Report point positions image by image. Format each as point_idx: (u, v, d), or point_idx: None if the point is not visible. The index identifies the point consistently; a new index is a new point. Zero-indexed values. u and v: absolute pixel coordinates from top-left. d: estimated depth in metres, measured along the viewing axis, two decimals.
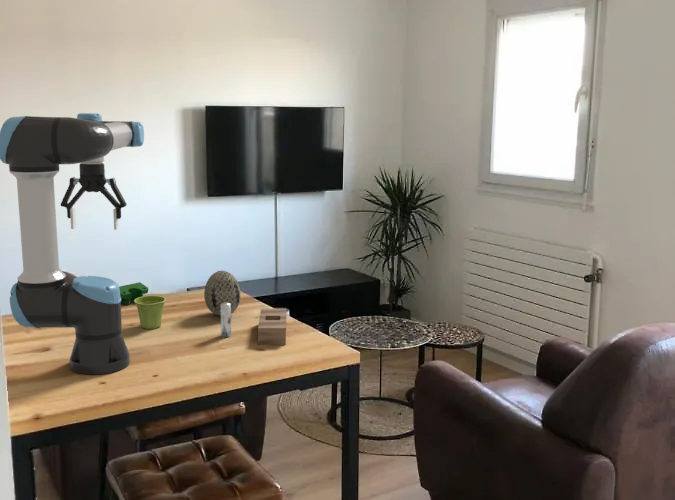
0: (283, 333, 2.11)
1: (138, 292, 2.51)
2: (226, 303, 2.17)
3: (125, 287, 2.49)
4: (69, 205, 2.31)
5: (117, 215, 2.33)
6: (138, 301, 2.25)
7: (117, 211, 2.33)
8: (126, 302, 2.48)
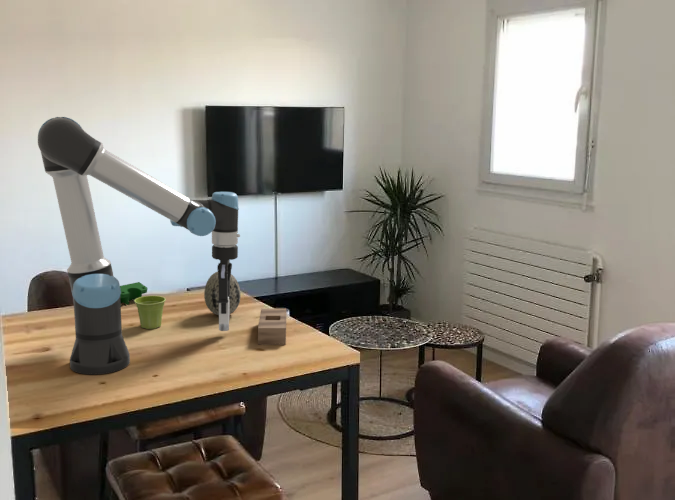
0: (283, 333, 2.11)
1: (137, 292, 2.52)
2: None
3: (124, 287, 2.50)
4: None
5: None
6: (138, 301, 2.25)
7: None
8: (125, 302, 2.48)
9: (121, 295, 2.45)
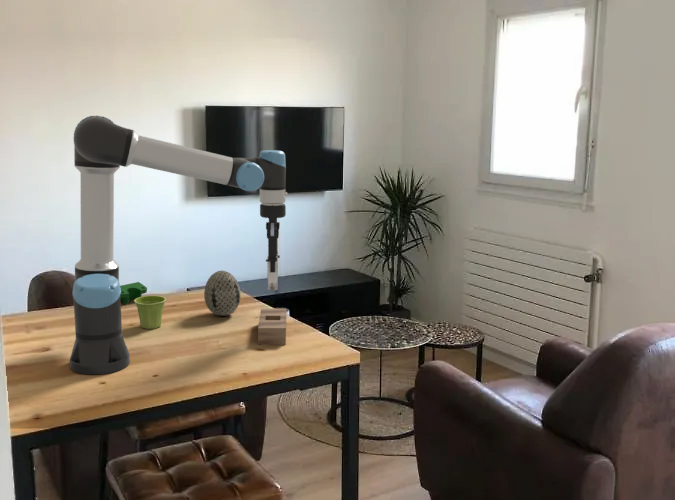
0: (283, 333, 2.11)
1: (137, 292, 2.52)
2: None
3: (123, 287, 2.50)
4: None
5: None
6: (138, 301, 2.25)
7: (270, 264, 2.14)
8: (125, 302, 2.48)
9: (121, 295, 2.45)
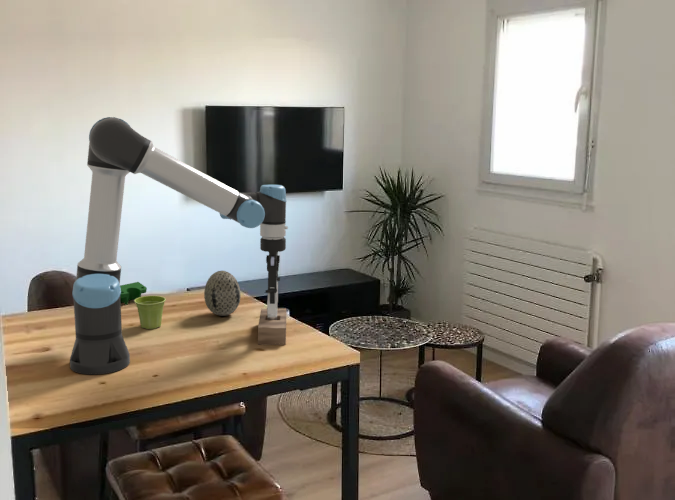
0: (283, 333, 2.11)
1: (136, 292, 2.52)
2: None
3: (123, 287, 2.50)
4: None
5: (269, 299, 2.12)
6: (138, 301, 2.25)
7: (269, 295, 2.12)
8: (125, 301, 2.48)
9: (120, 295, 2.45)
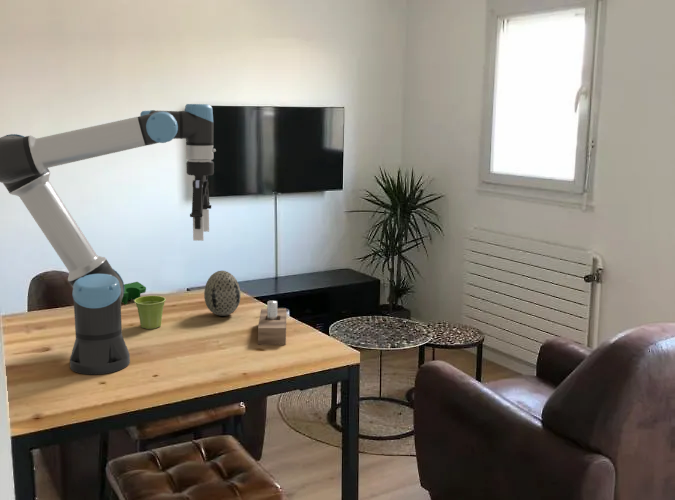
0: (283, 333, 2.11)
1: (136, 291, 2.52)
2: (273, 301, 2.20)
3: None
4: None
5: (195, 224, 1.97)
6: (138, 301, 2.25)
7: (195, 219, 1.97)
8: (124, 301, 2.49)
9: None
